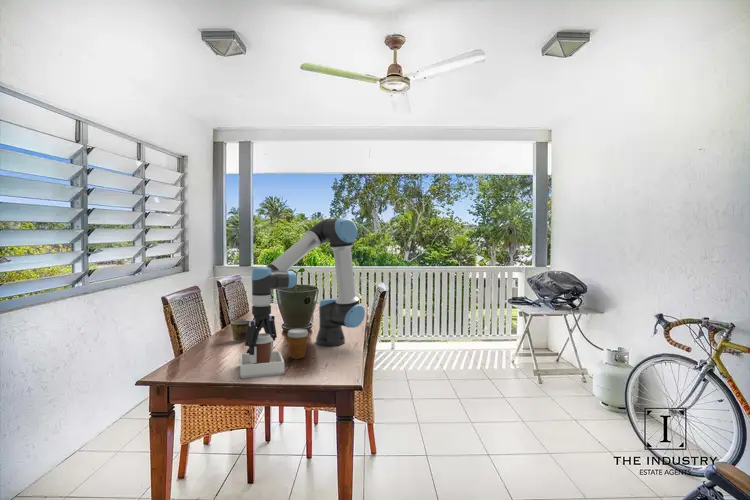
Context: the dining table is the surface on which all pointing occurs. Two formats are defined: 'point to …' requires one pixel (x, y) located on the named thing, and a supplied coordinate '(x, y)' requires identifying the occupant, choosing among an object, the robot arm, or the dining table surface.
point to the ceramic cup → (239, 330)
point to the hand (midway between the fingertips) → (261, 359)
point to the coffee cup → (263, 348)
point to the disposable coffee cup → (297, 342)
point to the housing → (261, 366)
